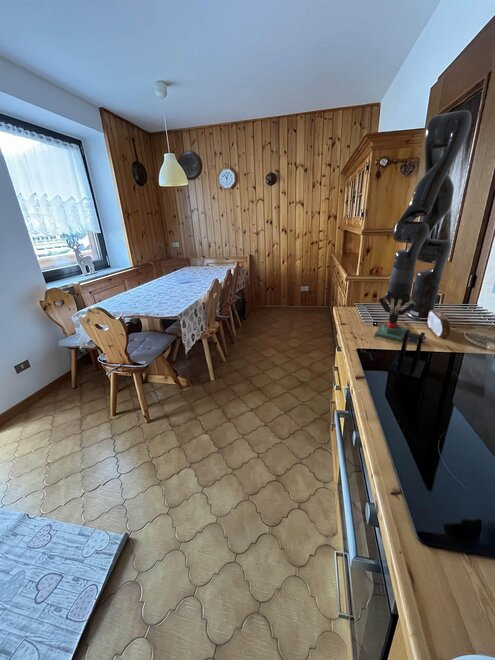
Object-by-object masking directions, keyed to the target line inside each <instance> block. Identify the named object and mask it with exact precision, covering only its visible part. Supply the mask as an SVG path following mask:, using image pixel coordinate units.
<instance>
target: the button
mask: <svg viewBox="0 0 495 660" xmlns="http://www.w3.org/2000/svg"><path fill="white" fill-rule="evenodd" d="M386 323H387V327H388V328H392V329H396V328H397V326H398V325H399V323H398V322H396V323H395V324H392V323H390V321H387V322H386Z"/></svg>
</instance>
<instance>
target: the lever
mask: <svg viewBox="0 0 495 660" xmlns="http://www.w3.org/2000/svg"><path fill="white" fill-rule="evenodd" d="M419 337H420V334H416V333H411V332H410V335H409V340H408V343H412V344H416V345H417V344H418V339H419ZM424 339H425V340H426V339H427V336H424Z"/></svg>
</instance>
